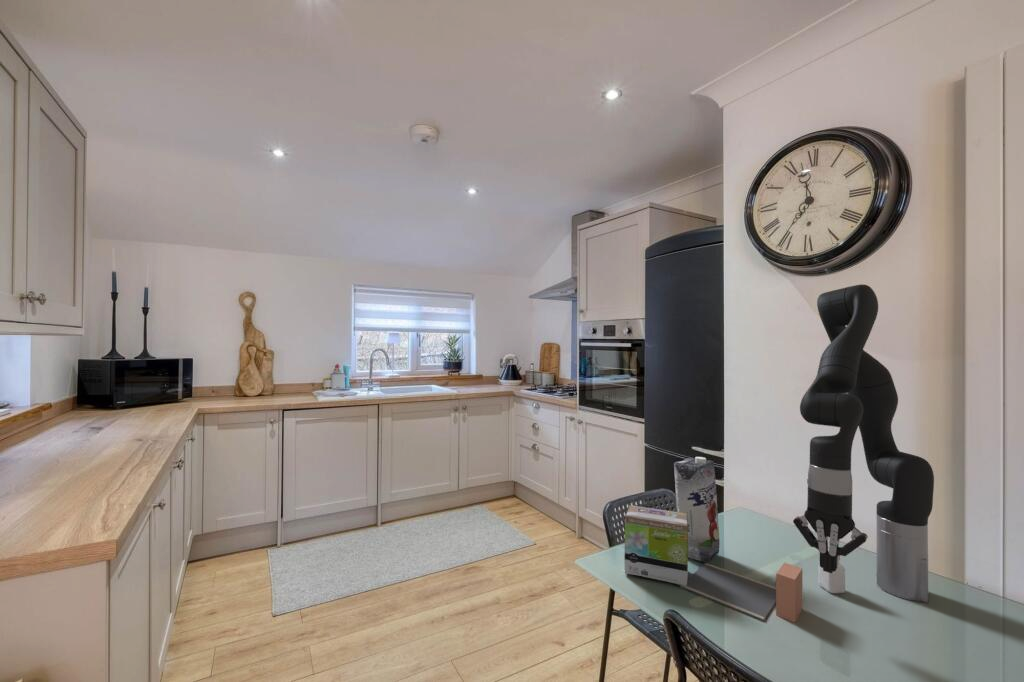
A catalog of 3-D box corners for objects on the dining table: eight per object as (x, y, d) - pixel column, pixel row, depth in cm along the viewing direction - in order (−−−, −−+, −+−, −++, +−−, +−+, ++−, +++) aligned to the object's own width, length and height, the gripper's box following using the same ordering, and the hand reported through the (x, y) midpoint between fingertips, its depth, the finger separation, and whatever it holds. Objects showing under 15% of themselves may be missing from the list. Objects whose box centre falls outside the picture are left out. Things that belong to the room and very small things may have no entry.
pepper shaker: (846, 594, 101) (846, 553, 102) (830, 594, 101) (830, 554, 101) (832, 584, 105) (832, 546, 106) (817, 585, 105) (817, 546, 105)
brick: (802, 608, 95) (802, 568, 96) (795, 622, 90) (795, 579, 91) (784, 602, 98) (784, 562, 98) (776, 615, 93) (776, 573, 93)
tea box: (623, 575, 108) (623, 515, 109) (628, 558, 117) (628, 503, 118) (688, 587, 102) (687, 524, 103) (687, 569, 111) (687, 511, 112)
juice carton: (675, 555, 119) (669, 457, 121) (692, 544, 126) (686, 452, 128) (707, 565, 113) (700, 461, 115) (723, 553, 120) (717, 455, 122)
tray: (782, 592, 102) (782, 589, 102) (763, 621, 91) (763, 619, 91) (705, 564, 115) (705, 562, 115) (679, 587, 103) (679, 585, 103)
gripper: (872, 492, 88) (871, 577, 87) (797, 477, 97) (795, 554, 97) (867, 500, 82) (866, 591, 82) (788, 483, 92) (786, 564, 92)
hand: (828, 570), depth 89 cm, fingers closed
